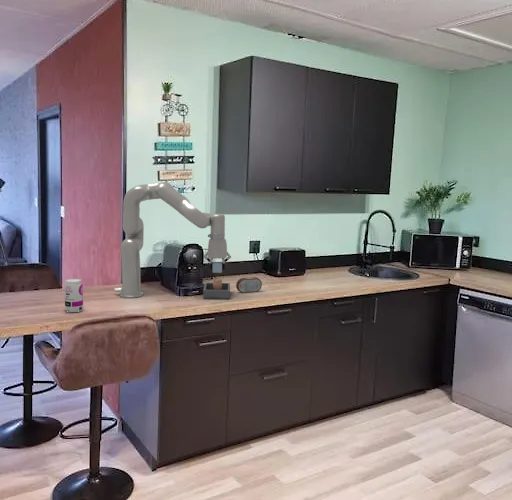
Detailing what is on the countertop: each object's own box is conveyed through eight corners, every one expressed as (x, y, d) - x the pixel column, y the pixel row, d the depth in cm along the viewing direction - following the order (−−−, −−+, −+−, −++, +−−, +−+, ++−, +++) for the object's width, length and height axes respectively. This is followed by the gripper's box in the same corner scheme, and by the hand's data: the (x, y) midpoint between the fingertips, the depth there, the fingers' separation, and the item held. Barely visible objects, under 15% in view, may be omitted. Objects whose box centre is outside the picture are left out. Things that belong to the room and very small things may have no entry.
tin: (260, 290, 303) (260, 276, 302) (262, 291, 300) (262, 277, 299) (235, 292, 298) (236, 277, 296) (237, 293, 295) (238, 279, 293)
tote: (203, 299, 280) (203, 290, 279) (205, 291, 298) (205, 282, 297) (229, 299, 281) (229, 290, 280) (229, 291, 299) (229, 283, 298)
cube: (212, 272, 281) (212, 263, 280) (212, 270, 286) (212, 261, 285) (221, 272, 281) (221, 263, 280) (222, 270, 286) (222, 261, 285)
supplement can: (85, 308, 256) (84, 278, 254) (80, 313, 248) (79, 282, 246) (68, 308, 256) (67, 278, 253) (62, 313, 248) (61, 282, 245)
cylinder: (212, 292, 291) (212, 280, 289) (213, 290, 295) (213, 278, 294) (221, 293, 291) (222, 280, 290) (222, 290, 296) (222, 278, 295)
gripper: (201, 237, 276) (201, 271, 279) (233, 238, 277) (233, 271, 280) (202, 235, 284) (201, 268, 286) (233, 236, 284) (233, 269, 287)
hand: (217, 270), depth 283 cm, fingers closed on cube, 4 cm apart
